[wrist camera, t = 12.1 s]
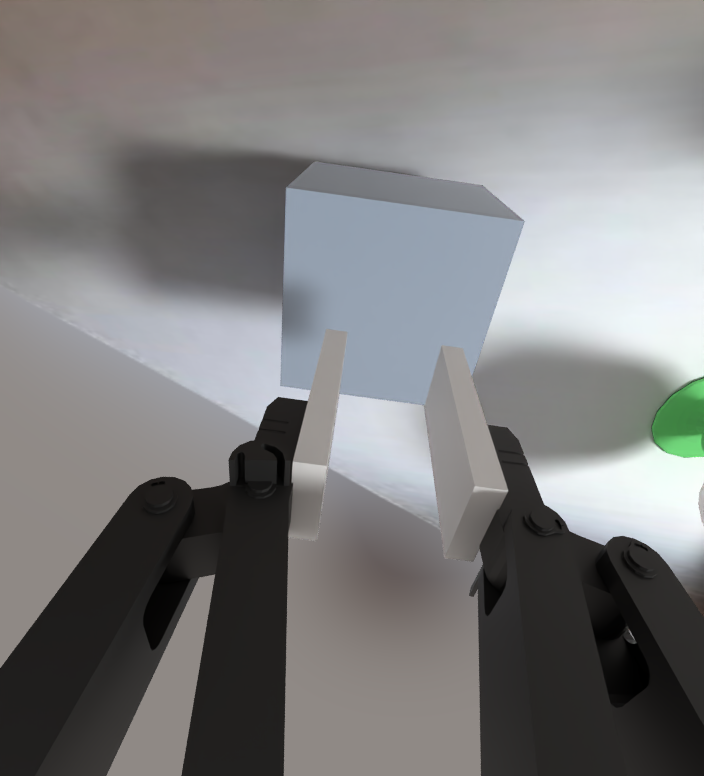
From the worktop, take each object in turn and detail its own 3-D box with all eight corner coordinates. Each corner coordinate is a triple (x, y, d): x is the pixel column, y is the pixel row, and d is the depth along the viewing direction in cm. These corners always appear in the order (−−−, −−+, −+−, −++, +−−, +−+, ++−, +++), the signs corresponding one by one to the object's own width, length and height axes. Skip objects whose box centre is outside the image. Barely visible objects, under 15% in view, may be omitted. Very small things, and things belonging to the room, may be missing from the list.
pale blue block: (305, 316, 29) (280, 386, 22) (314, 161, 24) (286, 187, 17) (441, 335, 29) (460, 409, 22) (482, 185, 24) (524, 221, 17)
